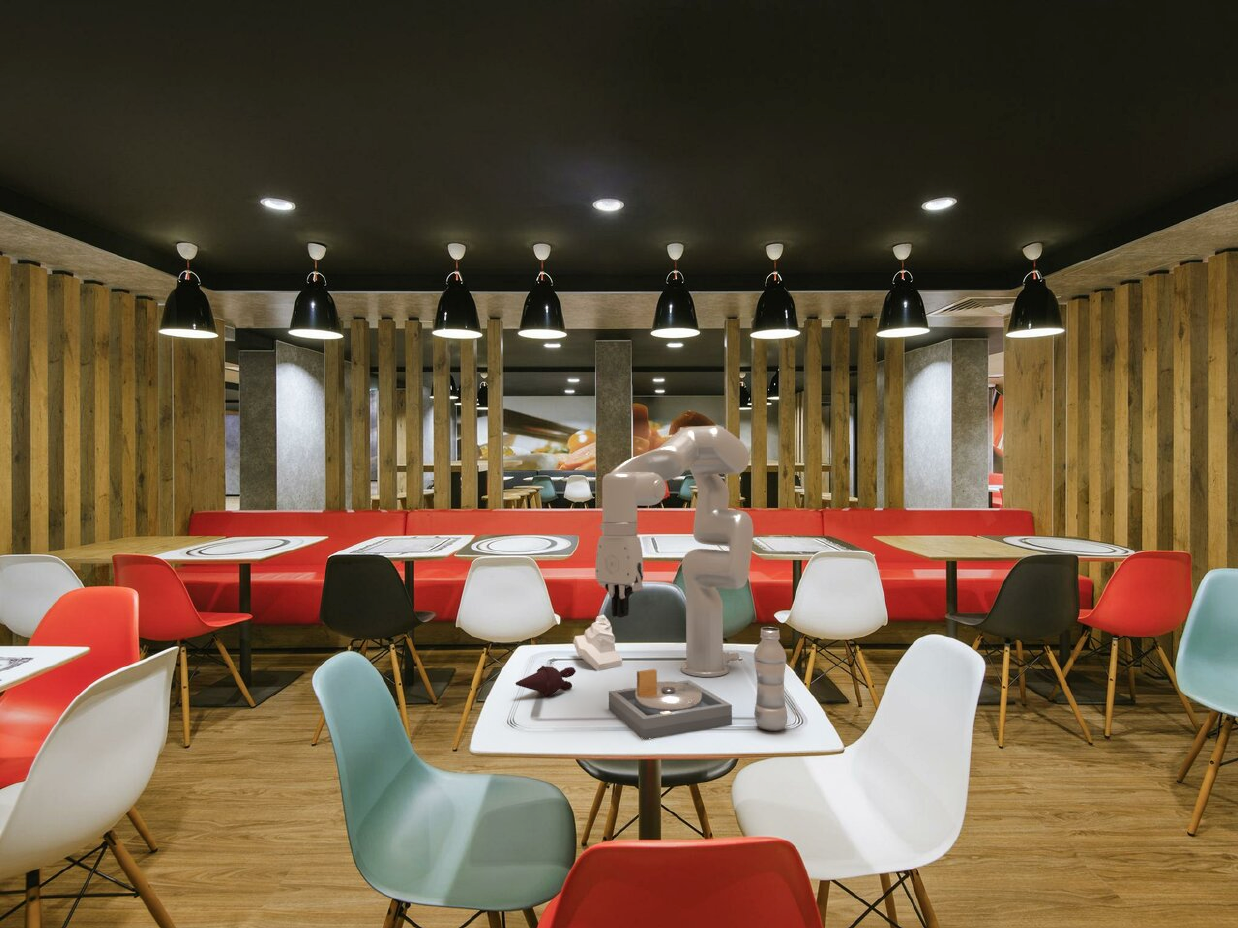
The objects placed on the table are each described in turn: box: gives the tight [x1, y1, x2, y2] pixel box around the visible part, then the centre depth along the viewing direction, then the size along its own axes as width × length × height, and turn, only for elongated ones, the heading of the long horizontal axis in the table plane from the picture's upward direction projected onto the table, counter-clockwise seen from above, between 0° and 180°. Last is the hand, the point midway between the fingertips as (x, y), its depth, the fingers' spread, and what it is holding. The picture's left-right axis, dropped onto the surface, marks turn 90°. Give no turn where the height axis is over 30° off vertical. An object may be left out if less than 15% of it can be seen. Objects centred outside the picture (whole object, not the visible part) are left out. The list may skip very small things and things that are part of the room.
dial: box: [635, 668, 702, 715], centre depth 141 cm, size 14×14×8 cm
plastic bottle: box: [753, 626, 789, 732], centre depth 135 cm, size 6×7×20 cm
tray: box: [608, 679, 733, 740], centre depth 141 cm, size 20×18×4 cm
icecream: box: [515, 665, 576, 698], centre depth 156 cm, size 7×7×15 cm
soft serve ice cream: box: [573, 614, 623, 671], centre depth 182 cm, size 12×15×14 cm
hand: (620, 615), depth 143 cm, fingers closed
